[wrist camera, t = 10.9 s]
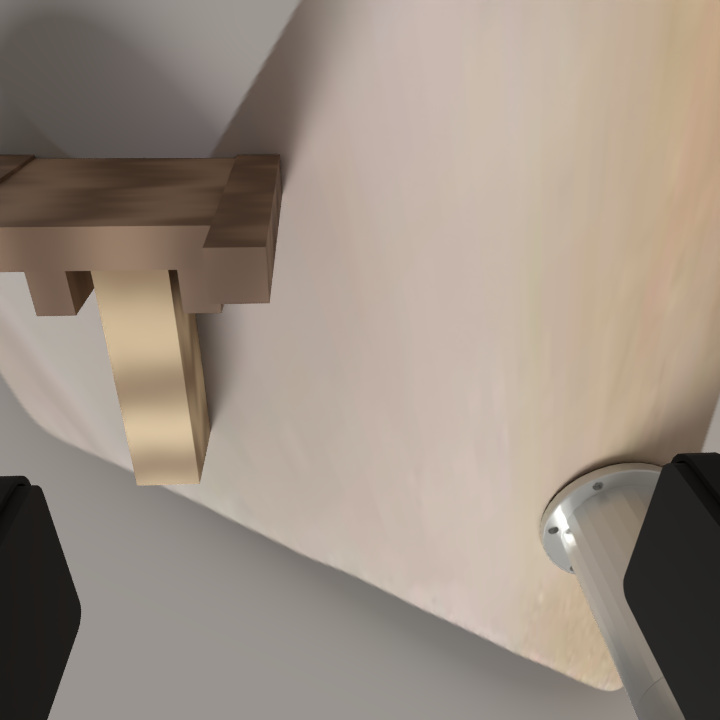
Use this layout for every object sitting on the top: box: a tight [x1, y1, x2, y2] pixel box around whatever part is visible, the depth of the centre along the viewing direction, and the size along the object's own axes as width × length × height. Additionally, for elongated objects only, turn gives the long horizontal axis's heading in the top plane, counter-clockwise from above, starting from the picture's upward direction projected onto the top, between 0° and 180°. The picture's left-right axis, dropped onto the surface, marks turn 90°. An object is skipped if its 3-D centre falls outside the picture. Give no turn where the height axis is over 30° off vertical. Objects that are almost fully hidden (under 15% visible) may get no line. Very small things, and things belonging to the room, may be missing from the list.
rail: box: [91, 270, 211, 485], centre depth 39 cm, size 17×4×6 cm, turn 179°
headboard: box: [0, 155, 282, 316], centre depth 32 cm, size 16×7×14 cm, turn 89°
